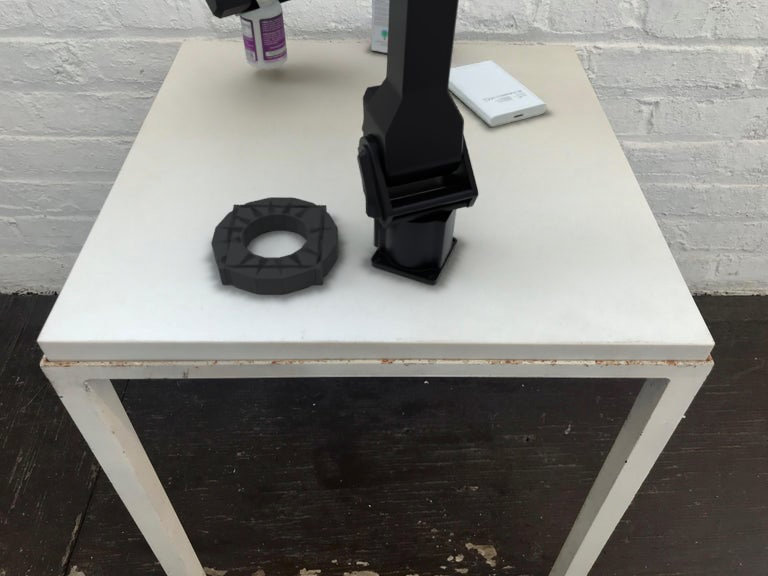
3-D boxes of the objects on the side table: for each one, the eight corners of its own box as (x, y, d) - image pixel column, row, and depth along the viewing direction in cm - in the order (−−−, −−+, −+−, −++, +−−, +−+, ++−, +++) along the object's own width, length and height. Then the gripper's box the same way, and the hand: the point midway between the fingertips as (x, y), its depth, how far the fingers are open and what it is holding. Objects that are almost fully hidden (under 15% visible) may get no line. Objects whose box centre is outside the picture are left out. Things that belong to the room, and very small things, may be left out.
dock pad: (339, 213, 63) (339, 197, 61) (335, 294, 55) (334, 278, 53) (226, 212, 63) (223, 196, 61) (206, 294, 55) (201, 278, 53)
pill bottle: (289, 52, 84) (282, -24, 77) (285, 70, 80) (277, -8, 73) (249, 52, 83) (238, -24, 77) (243, 70, 80) (231, -8, 73)
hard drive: (490, 70, 85) (545, 113, 77) (438, 82, 82) (489, 128, 75) (492, 59, 84) (547, 101, 76) (439, 70, 81) (491, 115, 73)
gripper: (333, -158, 67) (285, -69, 81) (178, -134, 59) (153, -39, 72) (380, -60, 69) (325, 11, 82) (236, -22, 60) (200, 50, 74)
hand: (254, 6), depth 78 cm, fingers closed on pill bottle, 5 cm apart
